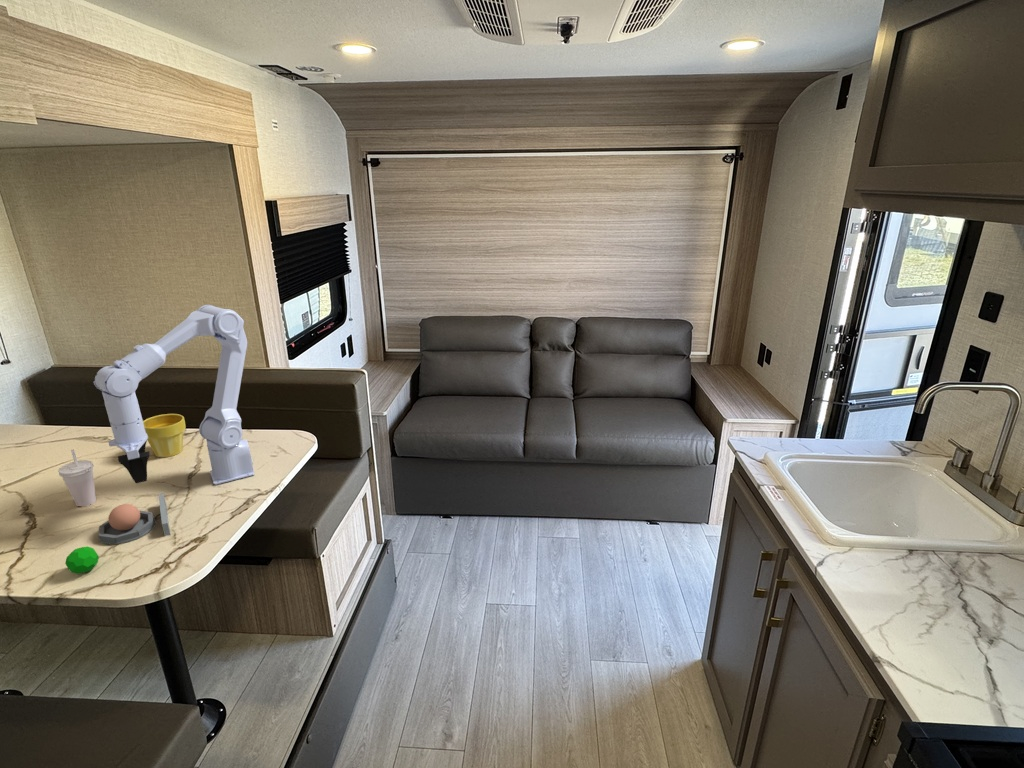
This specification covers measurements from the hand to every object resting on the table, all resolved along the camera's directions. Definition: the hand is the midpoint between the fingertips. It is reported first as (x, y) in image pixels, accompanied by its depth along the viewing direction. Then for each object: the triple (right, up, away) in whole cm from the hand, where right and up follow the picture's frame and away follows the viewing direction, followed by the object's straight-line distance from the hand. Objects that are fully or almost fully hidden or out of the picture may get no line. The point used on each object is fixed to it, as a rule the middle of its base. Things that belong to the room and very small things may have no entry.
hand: (140, 474), depth 120 cm
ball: (0, -11, -4) cm, 12 cm away
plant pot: (-13, +1, +30) cm, 32 cm away
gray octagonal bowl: (0, -12, -4) cm, 12 cm away
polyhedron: (+1, -16, -16) cm, 23 cm away
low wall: (+6, -10, 0) cm, 12 cm away
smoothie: (-17, -8, +5) cm, 19 cm away
